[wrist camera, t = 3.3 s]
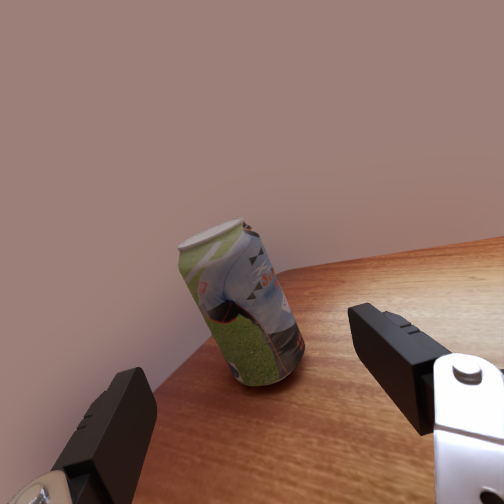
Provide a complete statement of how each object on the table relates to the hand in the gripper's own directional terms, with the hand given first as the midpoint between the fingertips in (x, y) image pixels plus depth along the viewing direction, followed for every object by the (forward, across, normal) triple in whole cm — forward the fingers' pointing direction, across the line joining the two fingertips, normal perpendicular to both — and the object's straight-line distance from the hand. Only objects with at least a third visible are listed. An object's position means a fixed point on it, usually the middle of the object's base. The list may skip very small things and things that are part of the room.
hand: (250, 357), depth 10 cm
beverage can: (+10, 0, +8) cm, 13 cm away
